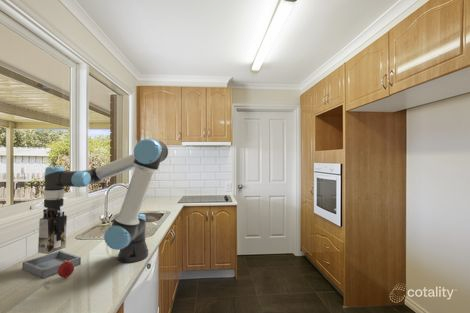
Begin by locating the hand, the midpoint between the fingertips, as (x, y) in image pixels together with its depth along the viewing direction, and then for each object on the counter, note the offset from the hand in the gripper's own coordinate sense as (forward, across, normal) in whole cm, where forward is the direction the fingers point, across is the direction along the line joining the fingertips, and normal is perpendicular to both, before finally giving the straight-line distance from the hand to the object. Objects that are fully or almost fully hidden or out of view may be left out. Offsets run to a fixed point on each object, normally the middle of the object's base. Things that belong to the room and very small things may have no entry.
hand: (52, 245), depth 114 cm
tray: (+10, 0, 0) cm, 10 cm away
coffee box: (+2, 0, 0) cm, 2 cm away
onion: (+10, -17, +3) cm, 20 cm away
